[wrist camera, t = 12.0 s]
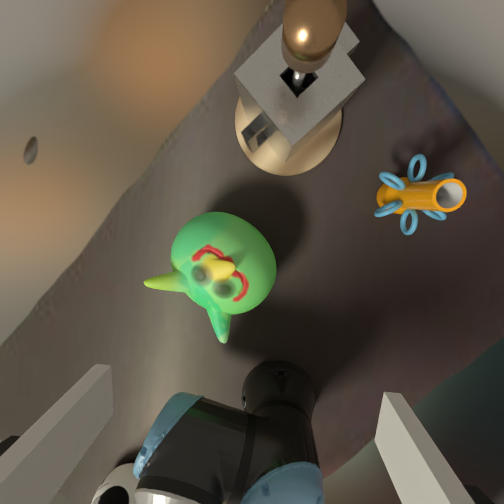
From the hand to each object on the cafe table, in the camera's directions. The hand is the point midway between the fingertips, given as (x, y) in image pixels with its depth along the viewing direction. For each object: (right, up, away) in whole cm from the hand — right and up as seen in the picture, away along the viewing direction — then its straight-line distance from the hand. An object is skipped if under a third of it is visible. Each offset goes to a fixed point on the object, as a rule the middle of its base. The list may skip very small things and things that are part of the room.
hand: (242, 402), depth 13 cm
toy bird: (-4, +6, +39) cm, 39 cm away
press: (+7, +30, +32) cm, 44 cm away
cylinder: (+26, +17, +35) cm, 46 cm away
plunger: (+6, +28, +25) cm, 38 cm away
